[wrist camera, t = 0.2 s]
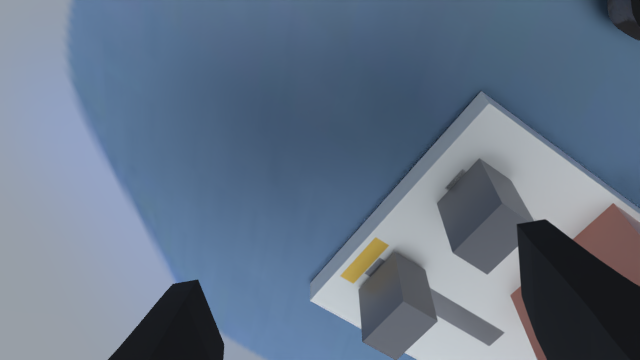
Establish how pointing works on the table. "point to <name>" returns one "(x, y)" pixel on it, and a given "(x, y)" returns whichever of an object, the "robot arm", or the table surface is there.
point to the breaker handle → (396, 306)
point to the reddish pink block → (599, 256)
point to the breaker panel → (431, 241)
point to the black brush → (625, 16)
